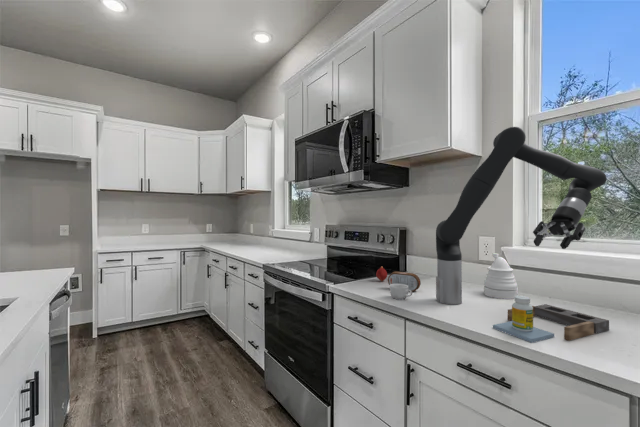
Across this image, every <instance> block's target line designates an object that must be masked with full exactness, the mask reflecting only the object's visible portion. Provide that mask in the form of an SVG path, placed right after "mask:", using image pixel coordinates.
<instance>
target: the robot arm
mask: <svg viewBox="0 0 640 427" xmlns="http://www.w3.org/2000/svg"><path fill="white" fill-rule="evenodd" d="M526 138H527V137H526V133H525V131H524V130H523V128H522V127H518V126H510V127H506V128H505V129H502V130H501V132H500V133H498V134H497V135H495V137H494V139H493V148H492V151H491V152H490V154H488V156H487V158H486V159H485V160H484V161H483V162H482V163H481V164H480V166H478V168H477V169H476V170H475V171H474V172H473V174H472V175H471V176H470V178H469V179H468V181H467V183H466V184H465V185H464V187H463V190H462V191H461V194H460V197H459V198H458V201H457V204H456V206H455V207H454V209H453V211H452V212H451V213H450V214H449V216H448V217H447V219H445V220H442V221H441V222H439V223H438V224H437V226H436V230H435V246H436V247H435V249H436V258H437V259H436V260H437V261H436V262H437V263H436V264H437V265H436V266H437V267H436V268H437V269H436V270H437V274H436V276H435V299H436V301H437V302H438V303H440V304H447V305H460V304H462V303H463V294H462V293H463V290H462V289H463V287H462V286H463V284H462V282H463V277H462V276H463V275H462V274H463V271H462V270H463V269H462V268H463V266H462V265H463V263H462V262H463V260H462V259H463V258H462V257H463V255H462V252H461V247H460V241H461V239H462V238H463V236H464V234H465V232H466V230H467V228H468V226H469V225H470V222H471V221H472V219H473V218H474V215H475V214H476V213H477V212H478V210H480V208H481V207H482V205H483V204H484V203H485V201H486V200H487V198H488V197H489V195H490V194H491V192H492V191H493V189H494V188H495V187H496V185H497V183H498V181H499V180H500V178H501V176H502V174H503V173H504V171H505V169H506V167H507V166H508V165H509V163H510V162H511V160H512V159H513V158H515V159H518V160H521V161H523V162H525V163H527V164H530V165H532V166H534V167H537V168H539V169H541V170H542V171H545V172H547V173H548V174H550V175H552V176H554V177H557V179H561V180H563V181H565V180H569V179H573V180H572V181H570V184H569V186H568V191H567V193H566V195H565V197H564V198H563V200H562V201H561V202H560V203H559V205H558V206H557V208H556V210H555V211H554V212H553V214H552V217H551V220H550V221H549V222H548V223H546V222H544V221H540V222H538V224H537V225H536V227H535V228H534V229H533V231H532V234H533V235H534V236H535V238H534V240H533V244H534V245H535V247H540V245H541V243H542V242H543V241H544V239H545V238H547V237H551V236H557V235H558V236H564V235H565V236H564V237H563V239H562V241H561V242H560V244H559V247H560V248H561V249H562V250H566V248H568V247H569V246H570V244H571V243H572V242H574V241H577V242H579V241H580V240H581V238H582V236H583V235H584V233H585V230H586V227H585V225H584V224H583V223H582V222H580V221H581V219H582V217H583V216H584V214H585V212H586V208H587V207H588V205H589V203H591V202H590V201H591V200H592V197H593V196H592V195H593V194H592V193H591V192H592V191H594V190H596V189H598V188H601V187H602V186H603V185H604V184H606V182H607V180H608V179H607V175H606V173H605V172H604V171H602V170H601V169H599V168H596V167H594V166H591V165H586V164H582V163H576V162H574V161H571V160H569V158H566V157H564V156H562V155H559V154H558V153H557V154H556V153H553V152H550V151H546V150H542V149H539V148H536V147H533V146H531V145H529V144H527V143H525V142H526ZM573 230H574V231H573ZM571 231H573V233H572V234H571V233H570V232H571Z"/></svg>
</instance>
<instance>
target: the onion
mask: <svg viewBox="0 0 640 427" xmlns="http://www.w3.org/2000/svg"><path fill="white" fill-rule="evenodd" d="M375 273H376V274H375V275H376V278H377V279H378V280H379V281H380V282H384V281H385V280H386V279H388V272H387V270H386V269H385V268H384V267H383V266H380V267H379V268H378V269H377V271H376V272H375Z"/></svg>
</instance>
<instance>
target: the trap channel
mask: <svg viewBox="0 0 640 427" xmlns="http://www.w3.org/2000/svg"><path fill="white" fill-rule="evenodd" d="M532 307H533V318H535V317H539V318H541V319H544V320H545V319H546V320H549V321H552V322H556V323H559V324H562V325H565V326H564V327H563V329H564V330H563V339H564V340H566V341H569V342H570V341H574V340H577V339H581V338H585V337H588V336H592V335H596V334H599V333H603V332H607V331H610V319H605V318H601V317H597V316H595V315H594V316H593V315H590V314H586V313H581V312H579V311H578V312H577V311H574V310H570V309H566V308H562V307H558V306H554V305H551V304H547V303H546V304H541V305H540V304H539V305H535V306H534V305H532ZM507 321H508V322H510V321H512V308H509V309H507Z"/></svg>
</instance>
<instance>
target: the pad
mask: <svg viewBox="0 0 640 427" xmlns="http://www.w3.org/2000/svg"><path fill="white" fill-rule="evenodd" d="M492 329H494V330H497V331H499V330H500V332H502V331H503V333H505V332H506V333H505V334H507V333H508V335H510V334H511V336H512V335H514V336H513V337H515V336H516V337H515V338H517V339H518V338H519V339H520V338H521V340H523V339H524V340H523V341H525V342H528V341H529V343H531V344H533V343H536V341H537V342H540V340H541V341H544V340H548V339H552V338H555V333H554V332H552V331H548V330H544V329H541V328H539V327H535V326H533V331H531V332H523V331H519V330H516V329H514V328H513V326H512V321H506V322H500V323H496V324H492ZM532 342H533V343H532Z"/></svg>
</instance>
